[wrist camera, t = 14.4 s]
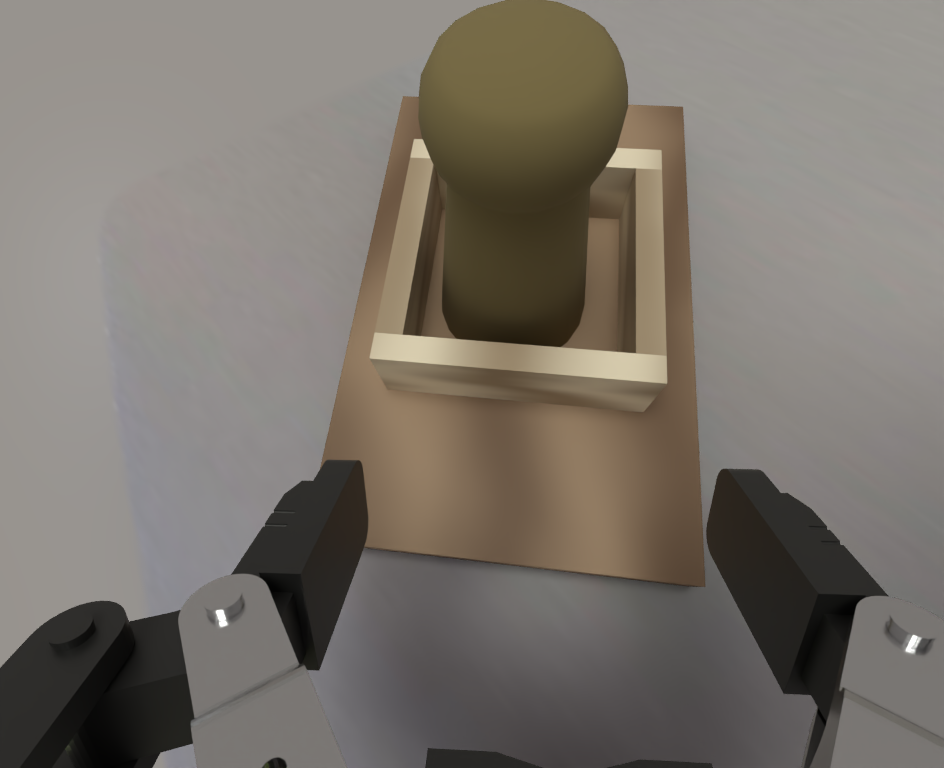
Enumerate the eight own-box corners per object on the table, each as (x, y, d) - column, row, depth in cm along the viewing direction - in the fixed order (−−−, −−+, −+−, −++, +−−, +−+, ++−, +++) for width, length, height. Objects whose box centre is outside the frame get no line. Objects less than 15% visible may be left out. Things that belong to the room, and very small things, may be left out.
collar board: (673, 132, 26) (705, 47, 22) (689, 586, 18) (745, 587, 14) (407, 120, 28) (391, 38, 23) (318, 542, 20) (269, 531, 16)
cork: (417, 275, 22) (347, 13, 12) (537, 218, 23) (568, -74, 13) (483, 389, 20) (466, 190, 10) (612, 322, 21) (722, 73, 11)
